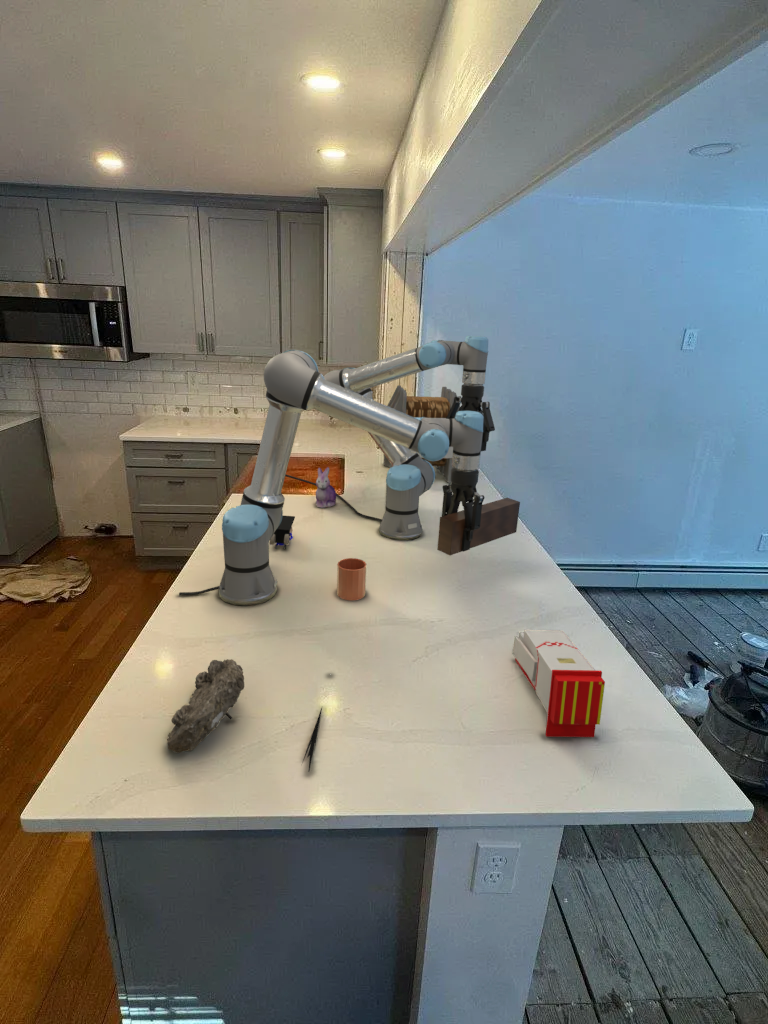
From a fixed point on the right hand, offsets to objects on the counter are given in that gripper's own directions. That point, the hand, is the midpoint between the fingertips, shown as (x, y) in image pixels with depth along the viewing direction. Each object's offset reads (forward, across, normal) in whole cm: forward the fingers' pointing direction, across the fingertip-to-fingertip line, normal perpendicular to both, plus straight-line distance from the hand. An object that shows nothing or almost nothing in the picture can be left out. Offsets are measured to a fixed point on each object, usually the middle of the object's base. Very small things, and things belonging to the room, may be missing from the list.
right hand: (467, 446), depth 196 cm
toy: (+31, +75, -55) cm, 98 cm away
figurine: (+31, -49, -25) cm, 63 cm away
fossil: (+31, +40, -114) cm, 124 cm away
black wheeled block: (+31, -25, -59) cm, 71 cm away
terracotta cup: (+31, +16, -62) cm, 71 cm away
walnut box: (+20, +28, -24) cm, 42 cm away
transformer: (+31, -62, +40) cm, 80 cm away
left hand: (+20, +28, -33) cm, 47 cm away
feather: (+31, +53, -98) cm, 115 cm away
